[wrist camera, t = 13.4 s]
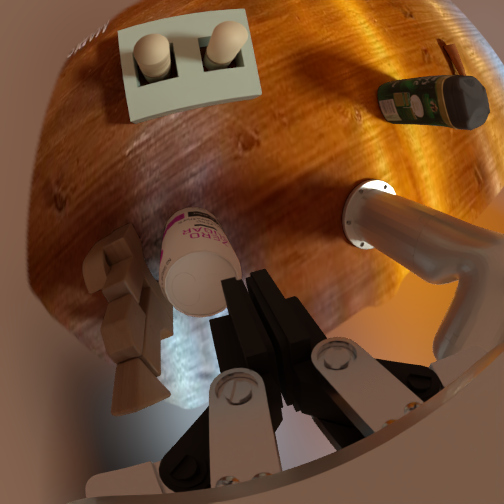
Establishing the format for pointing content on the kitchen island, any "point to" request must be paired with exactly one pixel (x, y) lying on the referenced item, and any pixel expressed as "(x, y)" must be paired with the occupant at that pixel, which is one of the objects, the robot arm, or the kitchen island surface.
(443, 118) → the coffee jar
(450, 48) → the purple maraca
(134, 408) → the wooden toy
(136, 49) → the peg
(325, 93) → the kitchen island surface
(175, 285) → the supplement can
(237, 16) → the seat board
